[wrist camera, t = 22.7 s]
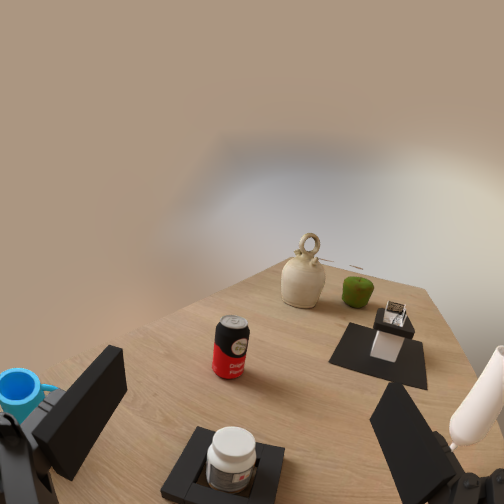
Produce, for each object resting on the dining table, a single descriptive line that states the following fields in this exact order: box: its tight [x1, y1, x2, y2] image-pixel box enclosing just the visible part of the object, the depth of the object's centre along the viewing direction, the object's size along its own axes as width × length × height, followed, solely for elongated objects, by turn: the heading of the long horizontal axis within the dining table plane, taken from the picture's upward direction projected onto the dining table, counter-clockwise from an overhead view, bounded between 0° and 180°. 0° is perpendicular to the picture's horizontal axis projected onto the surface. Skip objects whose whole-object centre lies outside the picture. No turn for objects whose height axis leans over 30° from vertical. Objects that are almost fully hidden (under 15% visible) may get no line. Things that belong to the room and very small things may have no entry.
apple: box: [342, 277, 374, 308], centre depth 99 cm, size 12×12×11 cm
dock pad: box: [161, 426, 285, 504], centre depth 26 cm, size 13×13×2 cm
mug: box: [0, 368, 58, 425], centre depth 24 cm, size 12×8×8 cm
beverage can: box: [212, 315, 250, 379], centre depth 50 cm, size 6×6×12 cm
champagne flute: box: [449, 346, 504, 452], centre depth 21 cm, size 7×7×24 cm
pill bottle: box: [206, 427, 256, 494], centre depth 25 cm, size 6×6×10 cm
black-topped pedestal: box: [329, 300, 427, 390], centre depth 64 cm, size 28×26×13 cm
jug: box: [281, 233, 326, 309], centre depth 94 cm, size 15×16×25 cm
